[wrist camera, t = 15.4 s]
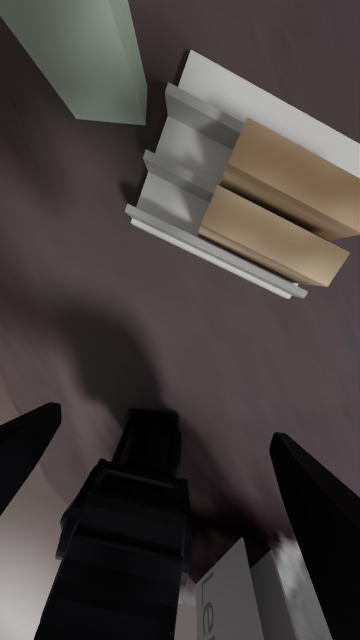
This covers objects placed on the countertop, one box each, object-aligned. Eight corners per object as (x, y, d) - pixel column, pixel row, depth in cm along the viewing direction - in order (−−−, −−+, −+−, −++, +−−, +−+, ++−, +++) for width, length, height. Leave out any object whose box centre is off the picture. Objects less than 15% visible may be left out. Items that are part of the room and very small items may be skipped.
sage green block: (145, 125, 16) (58, -168, 5) (76, 118, 16) (-147, -183, 5) (147, 88, 15) (51, -334, 5) (75, 81, 15) (-180, -346, 5)
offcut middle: (317, 243, 17) (362, 233, 12) (216, 192, 16) (227, 163, 12) (334, 215, 16) (389, 194, 12) (231, 160, 15) (247, 117, 11)
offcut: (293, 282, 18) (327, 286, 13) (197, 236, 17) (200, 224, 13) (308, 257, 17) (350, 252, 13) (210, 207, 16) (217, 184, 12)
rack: (284, 297, 19) (301, 302, 16) (133, 225, 18) (123, 216, 15) (367, 161, 16) (407, 137, 13) (190, 64, 15) (191, 13, 12)
